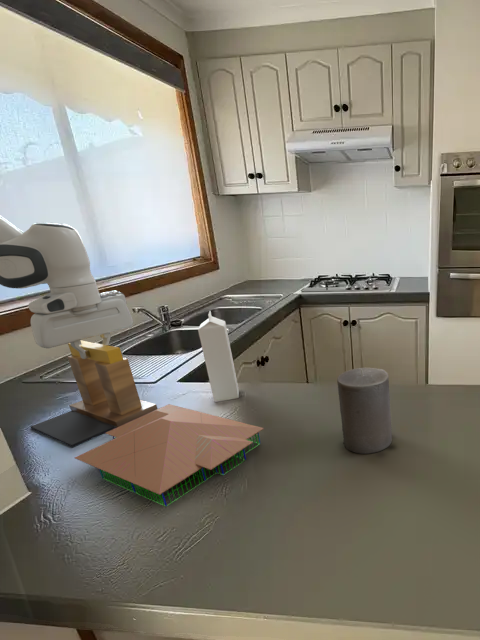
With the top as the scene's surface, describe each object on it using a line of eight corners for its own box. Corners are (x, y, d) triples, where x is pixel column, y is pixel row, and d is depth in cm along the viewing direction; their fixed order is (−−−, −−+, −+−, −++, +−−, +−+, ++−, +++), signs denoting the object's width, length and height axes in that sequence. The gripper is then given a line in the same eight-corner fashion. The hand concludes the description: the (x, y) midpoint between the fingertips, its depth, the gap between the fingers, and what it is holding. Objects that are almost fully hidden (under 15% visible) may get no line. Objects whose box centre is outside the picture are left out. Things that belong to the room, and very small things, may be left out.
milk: (214, 402, 106) (194, 316, 98) (215, 393, 111) (196, 311, 103) (239, 398, 107) (221, 313, 99) (239, 389, 113) (222, 308, 105)
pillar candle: (333, 443, 83) (324, 372, 77) (367, 424, 89) (362, 357, 84) (369, 460, 76) (362, 383, 71) (403, 438, 83) (399, 366, 78)
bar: (123, 359, 98) (119, 347, 96) (110, 364, 95) (106, 351, 94) (84, 351, 107) (80, 340, 106) (71, 355, 104) (67, 343, 103)
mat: (115, 428, 96) (114, 426, 96) (72, 447, 89) (71, 445, 89) (72, 412, 106) (71, 410, 106) (31, 428, 99) (30, 426, 99)
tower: (157, 409, 104) (142, 356, 99) (117, 427, 96) (98, 370, 91) (110, 395, 115) (94, 346, 110) (70, 410, 108) (52, 358, 103)
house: (175, 516, 65) (162, 471, 63) (67, 467, 82) (53, 429, 79) (276, 445, 84) (270, 408, 81) (172, 416, 100) (163, 384, 97)
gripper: (115, 288, 106) (130, 341, 110) (19, 306, 89) (41, 367, 94) (129, 289, 102) (144, 343, 107) (32, 307, 86) (55, 371, 91)
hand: (95, 355), depth 101 cm, fingers closed on bar, 3 cm apart
